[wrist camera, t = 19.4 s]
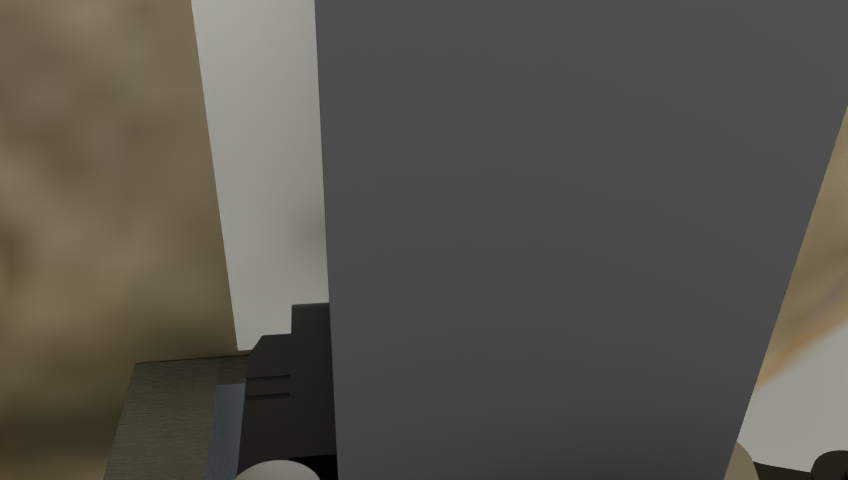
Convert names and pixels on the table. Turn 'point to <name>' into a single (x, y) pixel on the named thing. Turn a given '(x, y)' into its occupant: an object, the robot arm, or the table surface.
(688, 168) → the plug
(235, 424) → the grey arch bracket
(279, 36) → the pad
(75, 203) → the table surface
